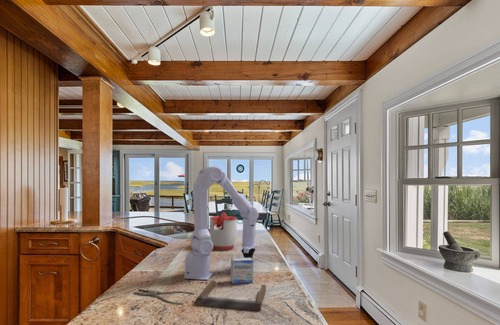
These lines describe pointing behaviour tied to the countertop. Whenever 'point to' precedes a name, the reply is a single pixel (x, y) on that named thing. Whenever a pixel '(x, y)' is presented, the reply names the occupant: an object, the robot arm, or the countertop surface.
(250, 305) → the bay
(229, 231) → the citrus juicer
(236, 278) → the medicine box
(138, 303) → the countertop surface
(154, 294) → the pliers
